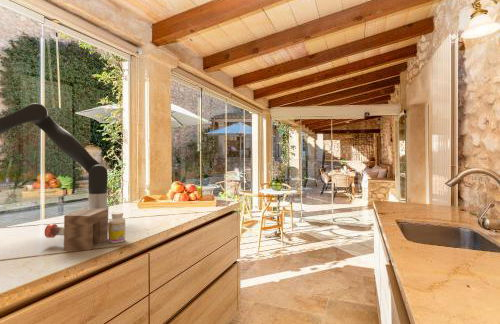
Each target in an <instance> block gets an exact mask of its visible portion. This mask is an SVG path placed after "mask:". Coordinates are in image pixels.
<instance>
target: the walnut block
mask: <svg viewBox="0 0 500 324" xmlns="http://www.w3.org/2000/svg"><path fill="white" fill-rule="evenodd" d="M63 220H64V221H63V222H64V223H63V224H64V225H63V227H64V236H63V250H64V251H90V250H91V249H93V247H94V245H93V244H101V243H103V242H105V241H106V240H109V208H108V209H89V208H88V207H86V208H84V209H81V210H78V211H75V212H72V213H68V214H65V215H64V218H63Z"/></svg>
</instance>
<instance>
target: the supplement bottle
mask: <svg viewBox="0 0 500 324" xmlns="http://www.w3.org/2000/svg"><path fill="white" fill-rule="evenodd" d="M123 216H124V212H122V211H117V212H116V211H115V212H112V213H111V217H112V218H110V219H109V220H108V242H109V243H113V244H117V243H119V244H120V243H124V241H125V240H126V219H125V217H123Z"/></svg>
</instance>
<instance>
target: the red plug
mask: <svg viewBox="0 0 500 324" xmlns="http://www.w3.org/2000/svg"><path fill="white" fill-rule="evenodd" d="M44 236H45V237H46V238H48V239H49V238H50V239H51V238H52V239H53V238H55V237H57V236H63V237H64V226H59V225H57V224H56V223H55V224H54V223H53V224H52V223H49V224H47V225H46V226H45V228H44Z"/></svg>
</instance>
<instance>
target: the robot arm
mask: <svg viewBox="0 0 500 324" xmlns="http://www.w3.org/2000/svg"><path fill="white" fill-rule="evenodd" d="M30 122H31V123H33V124H34V125H35V126H37V127H38V128H39V129H40V130H41V131H42V132H44V133H45V134H46V135H47V137H48V138H49V139H50V140H51V141H52V142H53V143H54V144H55V145H56V146H57V147H58V148H59V149H60V150H61V151H62V152H63V153H64V154H65V155H67V156H68V157H69V158H70V159H71V160H73V161H74V162H76V163H77V164H79V165H80V166H81V167H82V168H83V169H84V170H85V171H86V173H87V174H88V186H87V187H88V188H87V189H88V202H87V203H88V207H87V208H89V209H108V210H109V205H108V169H107V168H106V166H104V165H103V164H101V163H100V162H99V161H97V160H96V159H95V158H94V157H93V156H92V155H91V154H90V153H89V151H88V150H87V149H86V148H85V147H84V146H83V144H82V143H81V142H80V141H79V140H78V139H77V138H76V137H75V136H74V135H73V134H72V133H70V132H69V131H67V130H66V129H65V128H63V127H62V126H60V125H59V124H58V123H57V122H56V121H55V120H54V119H53V118H52V117H51V116H50V114H49V113H48V109H47V108H46V105H45V106H44V105H43V104H41V103H38V102H34V103H30V104H28V105H26V106H24V107H22V108H19V109H18V110H16V111H14V112H11V113H10V114H7V115H4V116H2V117H0V135H1V134H4V133H6V132H8V131H10V130H11V129H13V128H15V127H18V126H20V125H23V124H26V123H30ZM1 192H2V191H1V189H0V193H1Z"/></svg>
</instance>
